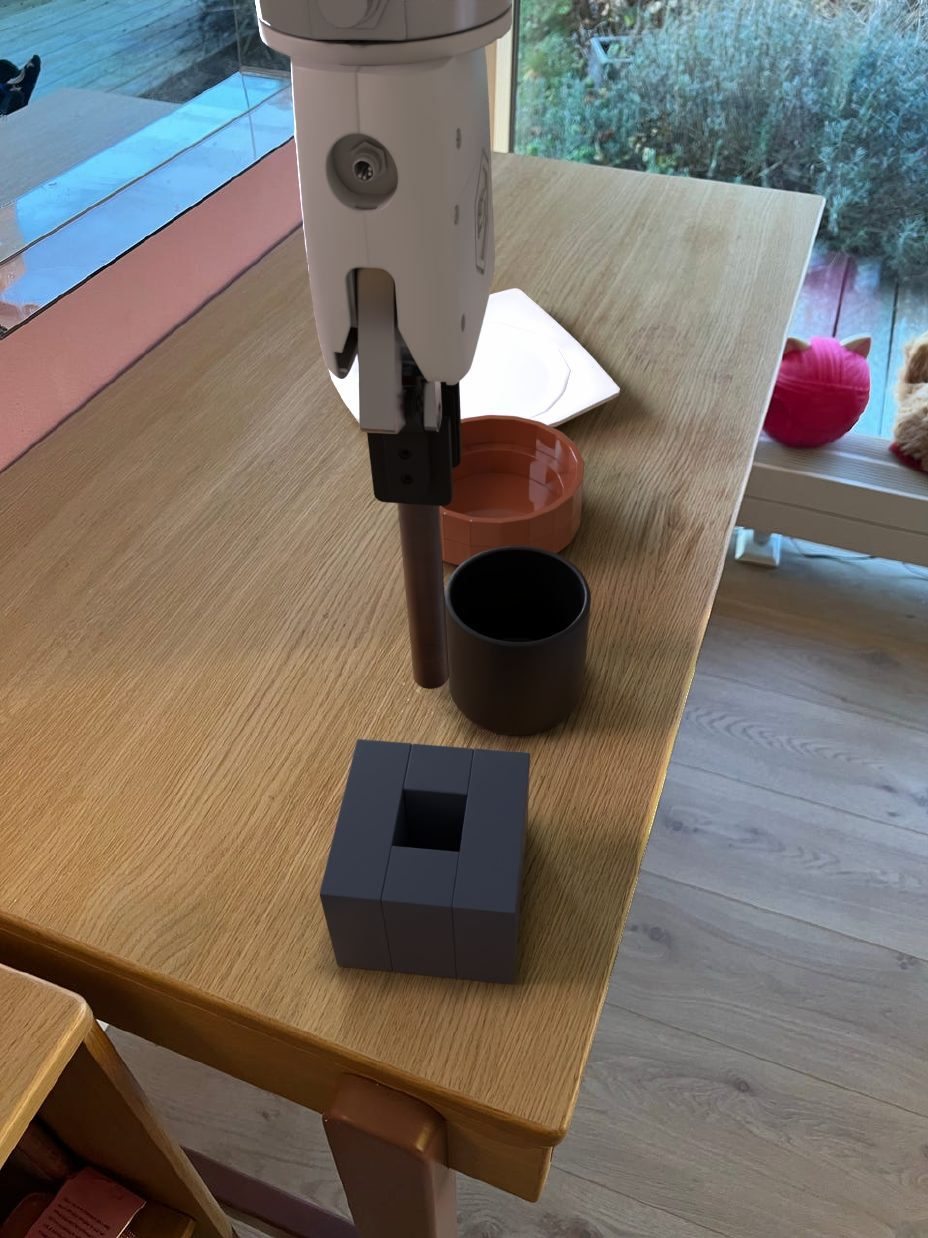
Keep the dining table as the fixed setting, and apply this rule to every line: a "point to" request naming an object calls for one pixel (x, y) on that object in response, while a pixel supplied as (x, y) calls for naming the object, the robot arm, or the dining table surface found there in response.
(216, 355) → the dining table surface
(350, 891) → the holder
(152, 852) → the dining table surface
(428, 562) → the stick
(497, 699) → the mug
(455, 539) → the bowl
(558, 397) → the plate
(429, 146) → the robot arm
